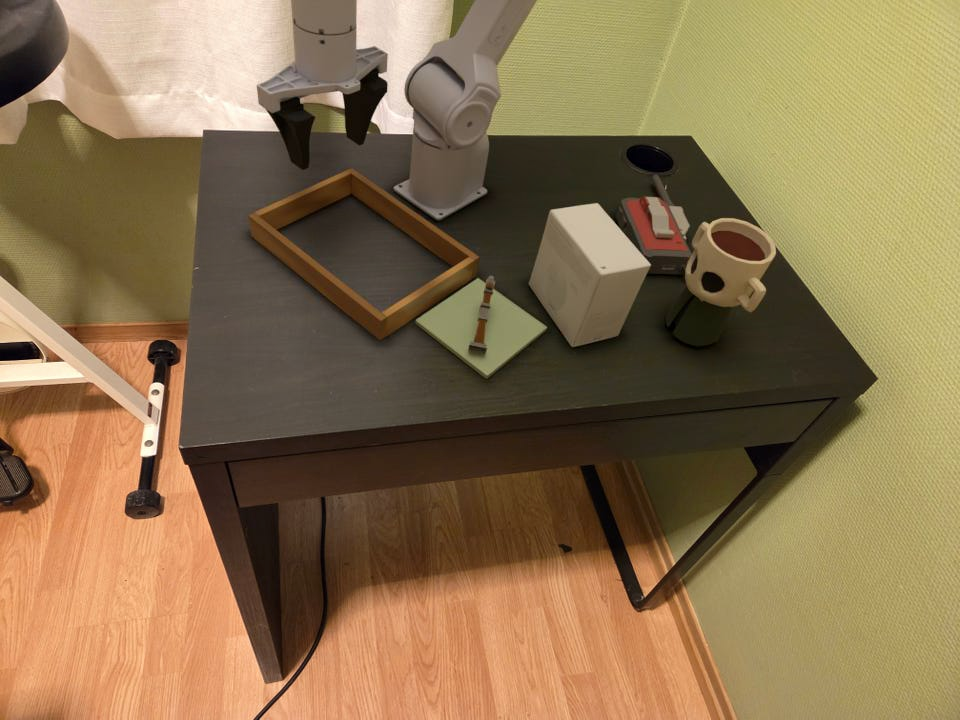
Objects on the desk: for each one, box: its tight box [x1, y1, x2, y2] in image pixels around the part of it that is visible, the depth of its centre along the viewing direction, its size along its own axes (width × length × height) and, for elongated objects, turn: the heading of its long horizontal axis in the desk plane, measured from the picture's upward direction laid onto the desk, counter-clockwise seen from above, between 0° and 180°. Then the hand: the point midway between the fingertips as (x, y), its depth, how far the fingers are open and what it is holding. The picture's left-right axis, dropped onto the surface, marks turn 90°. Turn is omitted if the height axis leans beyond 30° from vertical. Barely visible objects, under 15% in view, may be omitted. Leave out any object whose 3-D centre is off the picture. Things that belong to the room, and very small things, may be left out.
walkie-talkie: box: [615, 174, 693, 276], centre depth 85 cm, size 9×4×20 cm
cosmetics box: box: [527, 202, 651, 348], centre depth 70 cm, size 10×6×10 cm, turn 25°
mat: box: [414, 277, 548, 380], centre depth 70 cm, size 10×10×1 cm
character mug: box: [665, 217, 777, 347], centre depth 70 cm, size 11×7×13 cm, turn 21°
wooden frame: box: [248, 167, 480, 341], centre depth 74 cm, size 15×21×3 cm
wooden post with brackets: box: [468, 275, 496, 354], centre depth 69 cm, size 2×8×4 cm, turn 173°
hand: (328, 152), depth 71 cm, fingers open, 7 cm apart
